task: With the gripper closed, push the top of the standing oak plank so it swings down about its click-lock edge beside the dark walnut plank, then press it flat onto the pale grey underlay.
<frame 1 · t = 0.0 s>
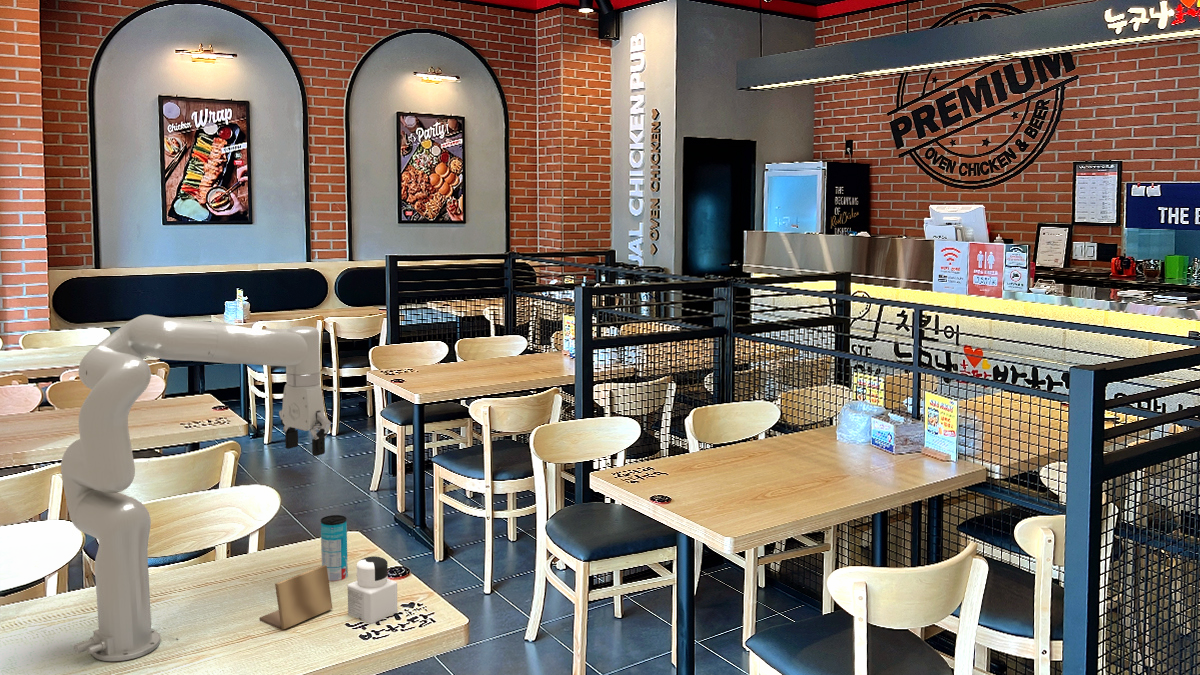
hand: (305, 451, 227), 31 cm above the table, fingers open, 9 cm apart
beverage can: (334, 580, 231), on the table
container: (372, 617, 212), on the table
laid walnut plank: (307, 623, 207), on the table
oak plank: (304, 596, 207), point 6 cm above the table, hinge at 100.0°
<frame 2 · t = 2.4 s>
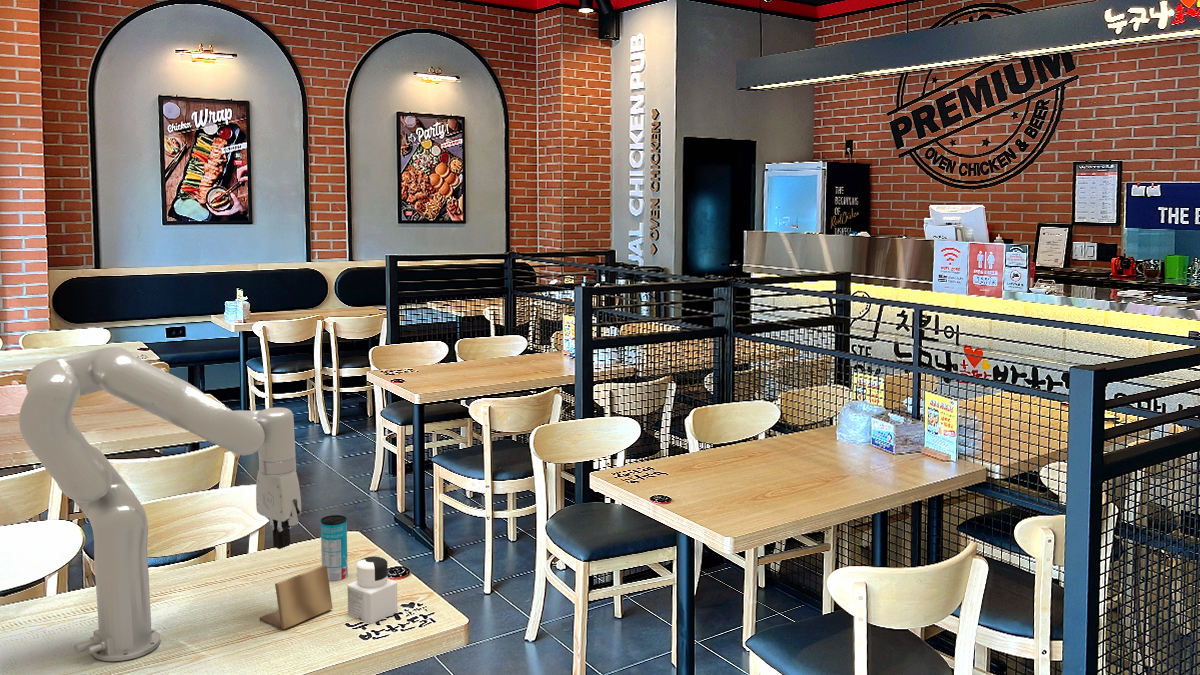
hand: (282, 546, 210), 15 cm above the table, fingers closed
nothing on the table moved.
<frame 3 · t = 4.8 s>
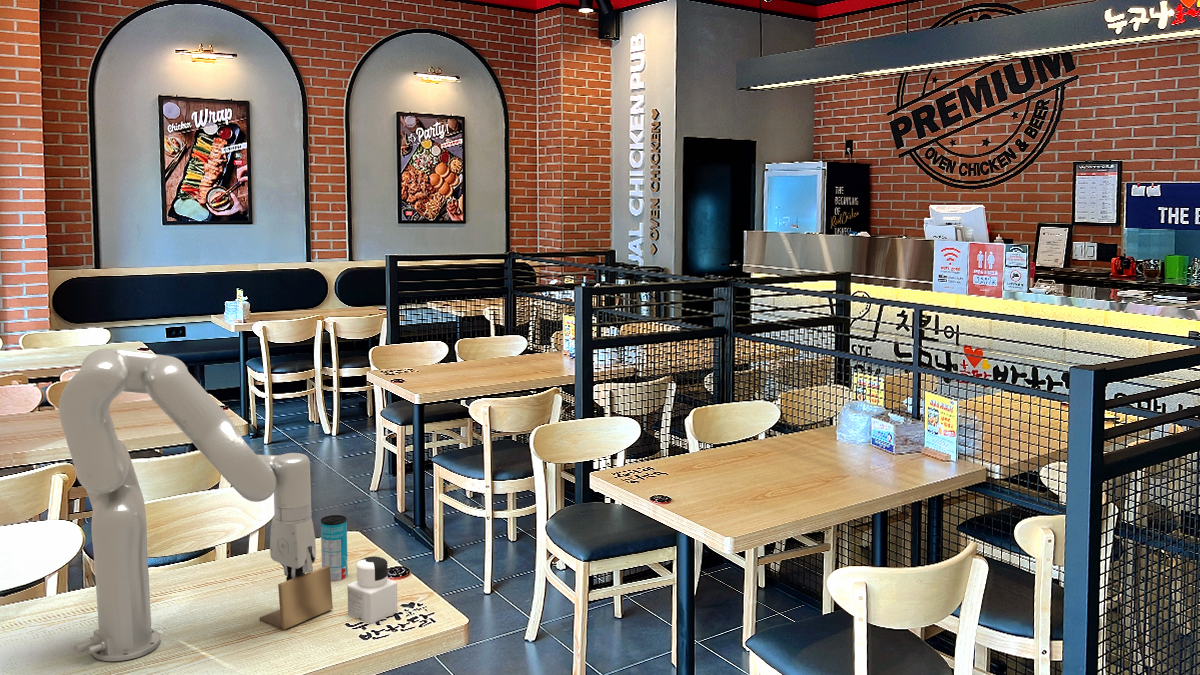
hand: (295, 592, 209), 6 cm above the table, fingers closed
oak plank: (306, 596, 207), point 6 cm above the table, hinge at 93.9°, touching gripper
everything else where it was.
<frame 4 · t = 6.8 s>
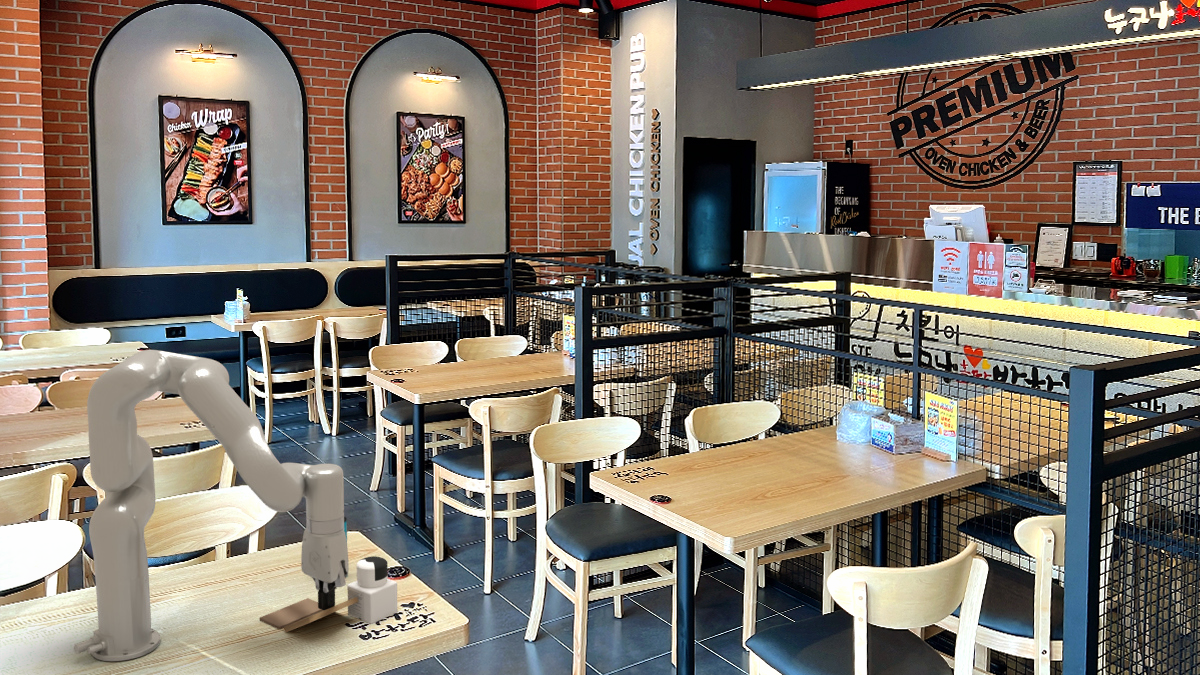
hand: (326, 607, 203), 6 cm above the table, fingers closed
oak plank: (321, 614, 204), point 3 cm above the table, hinge at 29.4°, touching gripper
everything else where it was.
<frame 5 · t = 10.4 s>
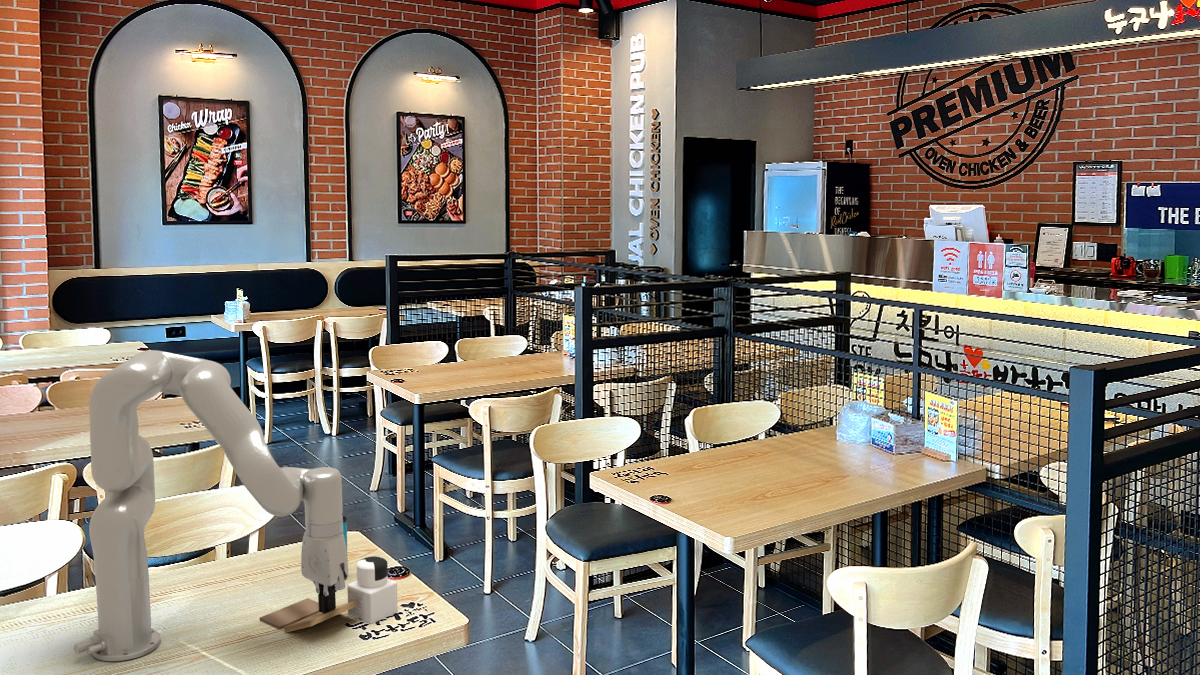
hand: (327, 610, 203), 5 cm above the table, fingers closed
oak plank: (321, 616, 204), point 3 cm above the table, hinge at 25.0°, touching gripper
everything else where it was.
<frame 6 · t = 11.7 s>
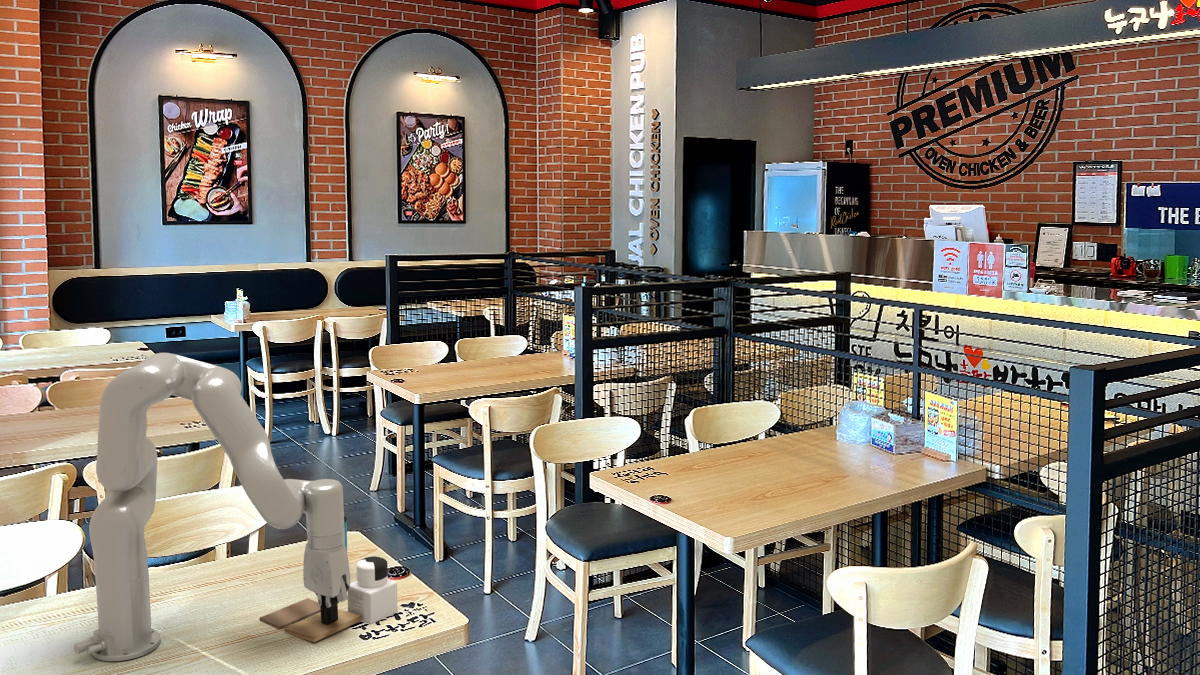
hand: (329, 621, 204), 2 cm above the table, fingers closed
oak plank: (323, 624, 204), point 1 cm above the table, hinge at 5.9°, touching gripper
everything else where it was.
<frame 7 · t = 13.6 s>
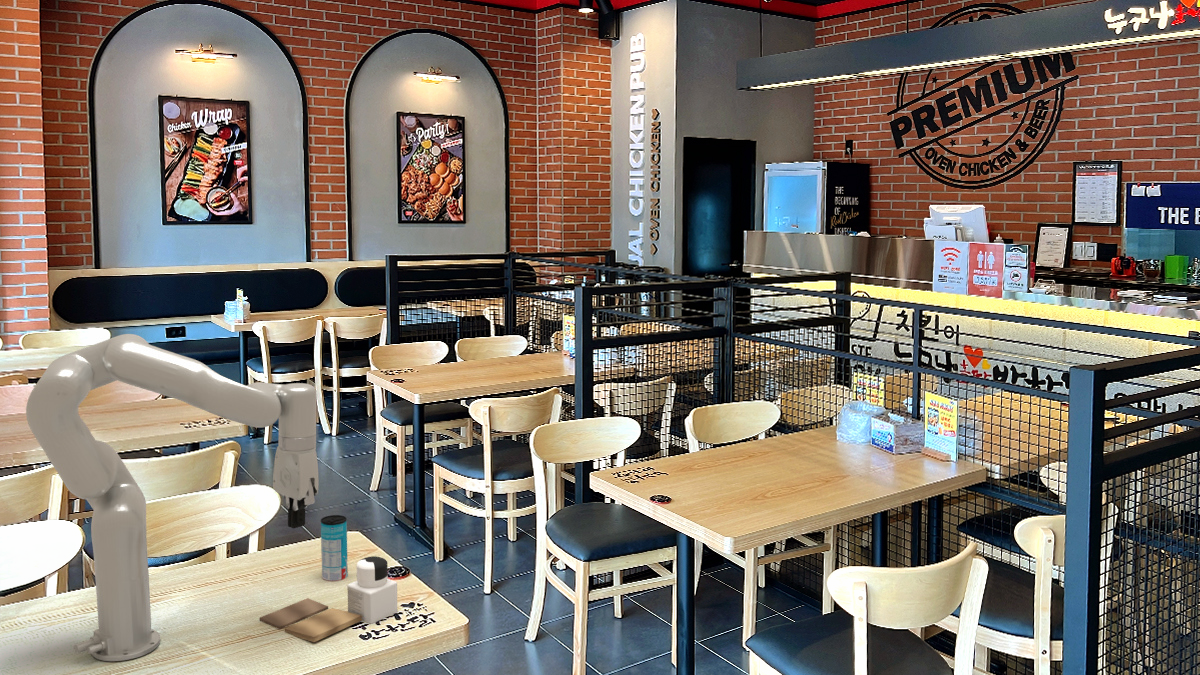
hand: (296, 526, 205), 21 cm above the table, fingers closed
oak plank: (323, 624, 204), point 1 cm above the table, hinge at 5.8°
everything else where it was.
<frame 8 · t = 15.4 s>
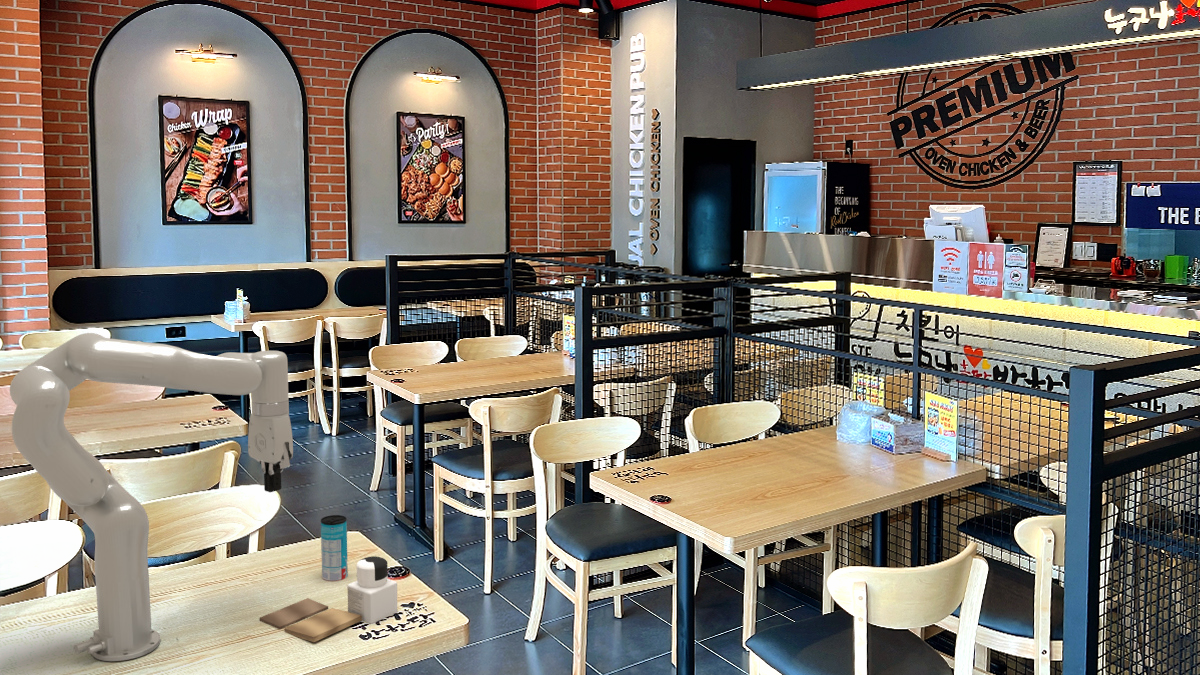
hand: (273, 490, 211), 27 cm above the table, fingers closed
nothing on the table moved.
at the end: oak plank at +6° (first picture: +100°); container moved 0.2 cm from its start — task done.
